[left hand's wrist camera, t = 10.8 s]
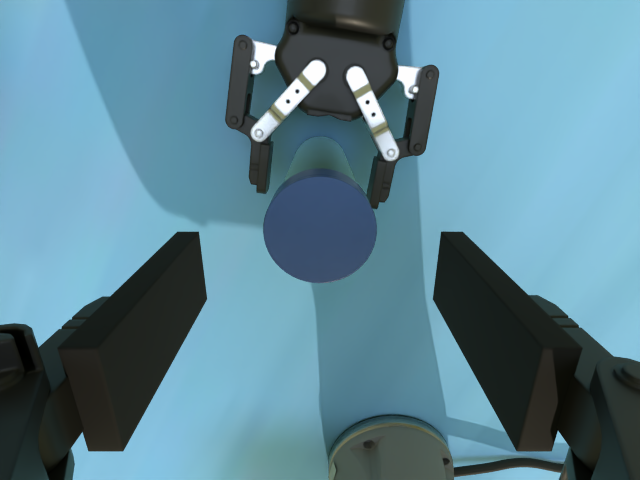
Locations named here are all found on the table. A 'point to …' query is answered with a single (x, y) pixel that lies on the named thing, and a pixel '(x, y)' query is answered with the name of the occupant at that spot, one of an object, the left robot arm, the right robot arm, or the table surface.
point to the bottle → (320, 157)
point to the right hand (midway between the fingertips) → (316, 198)
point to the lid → (320, 226)
